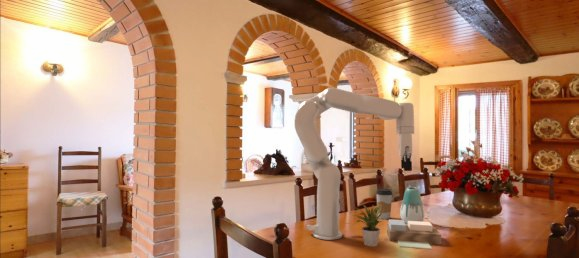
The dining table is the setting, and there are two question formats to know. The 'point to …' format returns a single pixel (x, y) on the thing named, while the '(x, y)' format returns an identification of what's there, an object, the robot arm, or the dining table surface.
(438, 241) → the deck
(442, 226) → the dining table surface
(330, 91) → the robot arm
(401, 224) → the gray rectangular block
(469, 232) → the dining table surface
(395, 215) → the dining table surface
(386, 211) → the coffee cup
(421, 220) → the vase
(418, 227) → the cream block
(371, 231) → the house plant
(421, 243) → the mat
